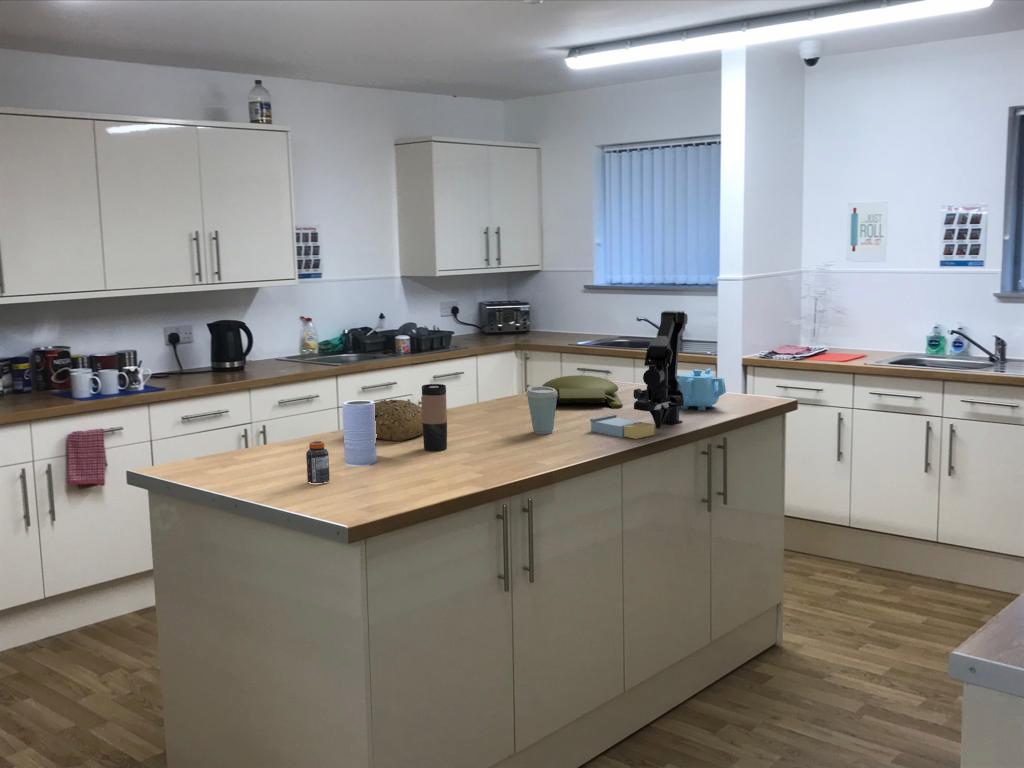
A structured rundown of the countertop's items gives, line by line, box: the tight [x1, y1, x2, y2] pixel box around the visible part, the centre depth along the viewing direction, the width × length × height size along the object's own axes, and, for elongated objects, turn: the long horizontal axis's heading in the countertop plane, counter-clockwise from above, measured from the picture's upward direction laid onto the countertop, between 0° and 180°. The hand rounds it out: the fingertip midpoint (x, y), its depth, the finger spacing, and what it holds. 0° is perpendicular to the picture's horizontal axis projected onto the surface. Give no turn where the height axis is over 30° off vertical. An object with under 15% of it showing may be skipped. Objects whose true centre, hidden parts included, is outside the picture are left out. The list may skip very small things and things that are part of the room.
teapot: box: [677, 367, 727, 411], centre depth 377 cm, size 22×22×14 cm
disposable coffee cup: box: [525, 385, 558, 435], centre depth 334 cm, size 11×11×15 cm
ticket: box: [589, 414, 641, 438], centre depth 334 cm, size 11×14×4 cm
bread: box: [373, 399, 423, 442], centre depth 334 cm, size 24×21×12 cm
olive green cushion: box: [541, 374, 624, 409], centre depth 393 cm, size 35×31×10 cm
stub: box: [623, 421, 655, 440], centre depth 326 cm, size 9×5×4 cm, turn 131°
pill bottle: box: [305, 440, 331, 483], centre depth 272 cm, size 6×6×11 cm
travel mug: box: [421, 383, 448, 452], centre depth 310 cm, size 8×8×20 cm
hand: (658, 428), depth 332 cm, fingers closed
